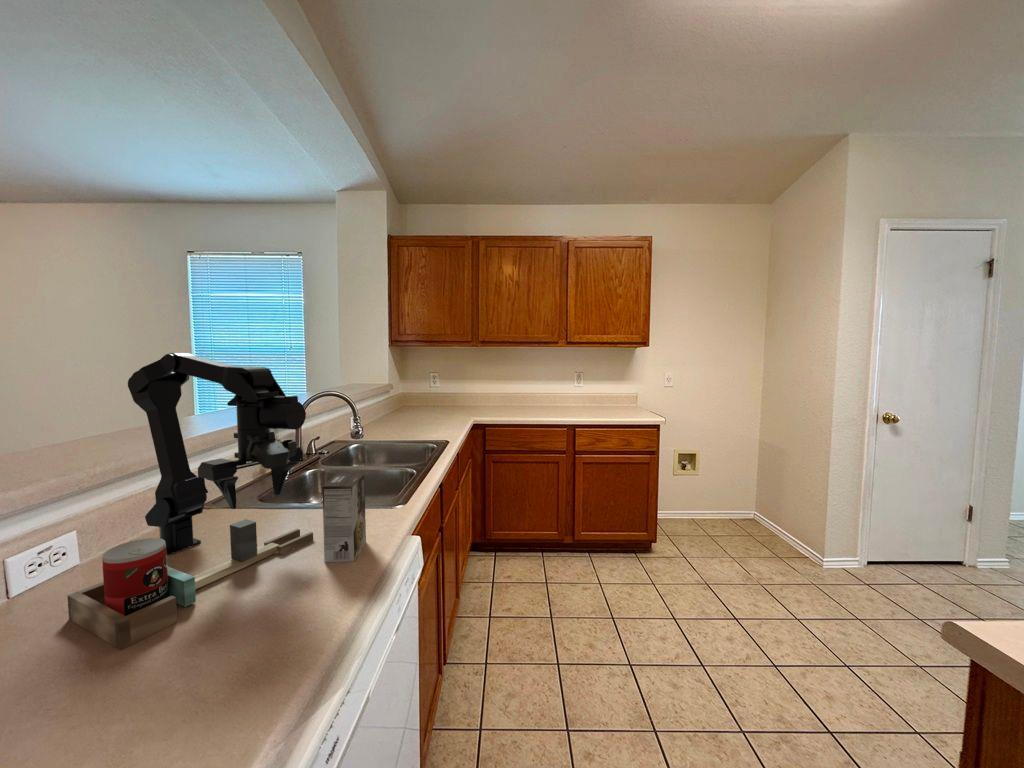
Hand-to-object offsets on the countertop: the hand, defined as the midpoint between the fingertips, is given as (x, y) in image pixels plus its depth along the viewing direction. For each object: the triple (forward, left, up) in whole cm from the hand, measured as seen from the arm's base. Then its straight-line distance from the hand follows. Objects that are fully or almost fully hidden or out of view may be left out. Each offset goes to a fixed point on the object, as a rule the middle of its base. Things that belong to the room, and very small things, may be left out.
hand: (256, 501), depth 86 cm
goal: (+1, -23, -12) cm, 26 cm away
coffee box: (+15, +9, -12) cm, 22 cm away
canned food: (+1, -21, -12) cm, 24 cm away
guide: (+1, +6, -12) cm, 13 cm away
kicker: (+1, -7, -12) cm, 14 cm away
